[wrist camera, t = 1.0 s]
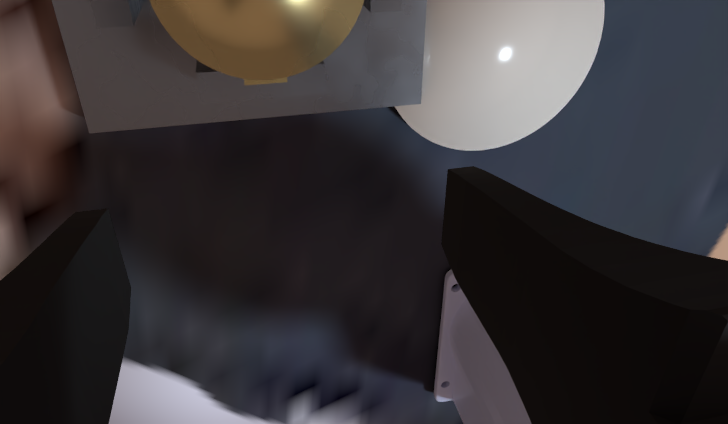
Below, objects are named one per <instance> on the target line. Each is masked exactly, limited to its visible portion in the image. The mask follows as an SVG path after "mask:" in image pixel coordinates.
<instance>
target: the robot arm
mask: <svg viewBox="0 0 728 424" xmlns="http://www.w3.org/2000/svg"><path fill="white" fill-rule="evenodd" d="M441 244H442V247H443V249H444V252H445V254H446V257H447V260H448V262H449V265H450V267H451V270H449V271H448V272H447V273H446V276H445V282H444V292H443V303H442V313H441V323H440V334H439V344H438V354H437V365H436V375H435V385H434V396H435V399H436V400H437V401H439V402H445V401H450V400H453V401H454V403H455V405H456V408H457V410H458V412H459V414H460V417H461V419H462V421H463V423H464V424H728V261H726V260H721V259H716V258H711V257H706V256H702V255H697V254H693V253H688V252H684V251H680V250H677V249H673V248H669V247H666V246H662V245H658V244H654V243H651V242H647V241H644V240H641V239H638V238H634V237H631V236H629V235H626V234H623V233H620V232H617V231H614V230H612V229H609V228H606V227H603V226H600V225H598V224H595V223H593V222H590V221H588V220H585V219H583V218H581V217H579V216H576V215H574V214H572V213H569V212H567V211H565V210H563V209H560V208H558V207H556V206H554V205H552V204H550V203H548V202H546V201H544V200H542V199H540V198H538V197H536V196H534V195H532V194H530V193H528V192H526V191H524V190H522V189H520V188H518V187H516V186H514V185H512V184H510V183H508V182H506V181H504V180H502V179H500V178H498V177H496V176H494V175H492V174H490V173H488V172H486V171H484V170H482V169H479V168H477V167H474V166H472V167H464V168H455V169H448V174H447V185H446V197H445V208H444V220H443V232H442V243H441ZM455 284H457V285H456V286H455V287H452V286H453V285H455ZM130 297H131V286H130V283H129V279H128V276H127V272H126V269H125V265H124V262H123V259H122V255H121V252H120V248H119V245H118V241H117V238H116V234H115V231H114V228H113V224H112V221H111V217H110V214H109V210H108V209H101V210H92V211H83V212H76V213H74V214H73V215H72V216H71V217H69V218H68V219H67V220H66V221H65V222H64V223H63V224H62V225H61V226H60V227H59V228H58V229H56V230H55V231H54V232H53V233H52V234H51V235H50V236H49V237H48V238H47V239H46V240H45V241H44V242H43V243H42V244H41V245H40V246H39V247H37V248H36V249H35V250H34V251H33V252H32V253H31V254H30V255H29V256H28V257H27V258H26V259H25V260H23V261H22V262H21V263H20V264H19V265H18V266H17V267H16V268H15V269H14V270H13V271H11V272H10V273H9V274H8V275H7V276H5V277H4V278H3V279H2V280H1V281H0V424H108V423H109V419H110V414H111V410H112V405H113V400H114V396H115V391H116V386H117V381H118V377H119V372H120V367H121V363H122V359H123V354H124V349H125V344H126V339H127V334H128V329H129V315H130Z"/></svg>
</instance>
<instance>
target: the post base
mask: <svg viewBox="0 0 728 424" xmlns="http://www.w3.org/2000/svg"><path fill="white" fill-rule="evenodd" d="M52 3H53V7H54V11H55V14H56V18H57V21H58V25H59V28H60V32H61V35H62V39H63V42H64V46H65V49H66V53H67V56H68V60H69V63H70V67H71V71H72V74H73V78H74V81H75V85H76V88H77V92H78V95H79V99H80V102H81V106H82V109H83V113H84V116H85V120H86V123H87V127H88V131H89V133H99V132H111V131H122V130H133V129H144V128H156V127H167V126H178V125H190V124H201V123H212V122H223V121H235V120H246V119H257V118H268V117H280V116H291V115H302V114H314V113H325V112H336V111H347V110H359V109H370V108H381V107H392V106H404V105H415V104H421V96H422V78H423V60H424V42H425V24H426V7H427V0H364V3H363V6H362V9H361V12H360V14H359V16H358V18H357V21H356V23H355V24H354V26H353V28H352V29H351V31H350V33H349V34H348V36H347V37H346V38H345V40H344V41H343V42H342V43H341V45H340V46H339V47H338V48H337V49H336V50H335V51H334V52H333V53H332V54H331V55H329V56H328V57H327V58H325V59H324V60H323V61H322V62H320V63H319V64H317V65H315V66H313V67H312V68H310V69H308V70H306V71H304V72H301V73H299V74H296V75H293V76H289V77H287V82H283V83H270V84H257V85H245V84H244V79H242V78H238V77H234V76H229V75H227V74H224V73H221V72H219V71H216V70H214V69H212V68H210V67H208V66H206V65H204V64H203V63H201V62H200V61H198V60H197V59H195V58H194V57H192V56H191V55H190V54H188V53H187V52H186V51H185V50H184V49H183V48H182V47H180V46H179V45H178V43H177V42H176V41H175V40H174V39H173V38H172V37H171V36H170V35H169V33H168V32H167V31H166V29H165V28H164V26H163V25H162V24H161V22H160V21H159V19H158V17H157V15H156V13H155V11H154V10H153V8H152V5H151V3H150V0H52Z"/></svg>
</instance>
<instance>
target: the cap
mask: <svg viewBox="0 0 728 424" xmlns="http://www.w3.org/2000/svg"><path fill="white" fill-rule="evenodd" d="M150 3H151V5H152V8H153V10H154V11H155V13H156V15H157V17H158V19H159V21H160V22H161V24H162V25H163V26H164V28H165V29H166V31H167V32H168V33H169V35H170V36H171V37H172V38H173V39H174V40H175V41H176V42H177V43H178V45H179V46H180V47H182V48H183V49H184V50H185V51H186V52H187V53H188V54H190V55H191V56H192V57H194V58H195V59H197V60H198V61H200V62H201V63H203V64H204V65H206V66H208V67H210V68H212V69H214V70H216V71H219V72H221V73H224V74H227V75H229V76H234V77H238V78H242V79H244V84H245V85H257V84H270V83H283V82H287V77H289V76H293V75H296V74H299V73H301V72H304V71H306V70H308V69H310V68H312V67H313V66H315V65H317V64H319V63H320V62H322V61H323V60H324V59H325V58H327V57H328V56H329V55H331V54H332V53H333V52H334V51H335V50H336V49H337V48H338V47H339V46H340V45H341V43H342V42H343V41H344V40H345V38H346V37H347V36H348V34H349V33H350V31H351V29H352V28H353V26H354V24H355V23H356V21H357V18H358V16H359V14H360V12H361V9H362V6H363V3H364V0H150Z"/></svg>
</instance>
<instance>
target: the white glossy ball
mask: <svg viewBox="0 0 728 424" xmlns="http://www.w3.org/2000/svg"><path fill="white" fill-rule="evenodd" d="M603 23H604V0H427V7H426V24H425V42H424V60H423V78H422V96H421V104H415V105H404V106H394V107H395V108H396V110H397V111H398V113H399V114H400V115H401V117H402V118H403V119H404V120H405V122H406V123H407V124H408V125H409V126H410V127H411V128H412V129H413V130H415V131H416V132H417V133H419V134H420V135H421V136H423V137H424V138H426V139H428V140H430V141H431V142H433V143H436V144H439V145H441V146H444V147H448V148H452V149H456V150H467V151H474V150H486V149H492V148H497V147H501V146H504V145H507V144H510V143H513V142H515V141H517V140H520V139H522V138H524V137H526V136H527V135H529V134H531V133H533V132H534V131H536V130H537V129H539V128H540V127H542V126H543V125H545V124H546V123H547V122H548V121H549V120H551V119H552V118H553V117H554V116H555V115H557V113H558V112H559V111H560V110H561V109H562V108H563V107H564V106H565V105H566V104H567V103H568V102H569V101H570V99H571V98H572V97H573V95H574V94H575V93H576V92H577V90H578V89H579V87H580V85H581V84H582V82H583V81H584V79H585V77H586V75H587V74H588V72H589V70H590V68H591V66H592V63H593V61H594V58H595V56H596V53H597V50H598V47H599V43H600V40H601V35H602V29H603Z"/></svg>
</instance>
